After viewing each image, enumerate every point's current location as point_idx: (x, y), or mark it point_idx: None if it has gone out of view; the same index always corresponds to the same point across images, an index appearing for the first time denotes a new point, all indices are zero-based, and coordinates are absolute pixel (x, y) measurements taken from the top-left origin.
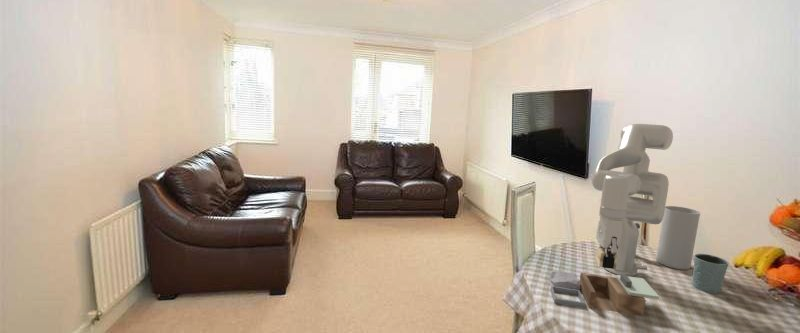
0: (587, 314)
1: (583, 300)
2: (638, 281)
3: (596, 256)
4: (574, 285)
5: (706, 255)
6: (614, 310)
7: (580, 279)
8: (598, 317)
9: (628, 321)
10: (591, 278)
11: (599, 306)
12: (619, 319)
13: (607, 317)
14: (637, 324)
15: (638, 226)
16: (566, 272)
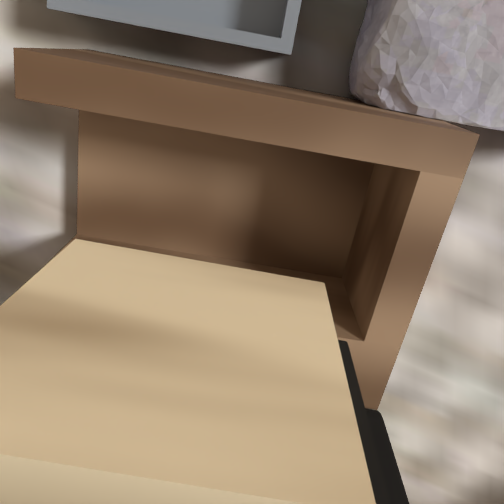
0: (18, 13)
1: (96, 11)
2: None
3: (297, 331)
4: (372, 40)
5: None
6: (88, 224)
7: (427, 119)
8: (3, 84)
9: (23, 258)
10: (394, 213)
11: (117, 144)
12: (28, 216)
13: (26, 150)
14: (6, 291)
15: None
16: None
